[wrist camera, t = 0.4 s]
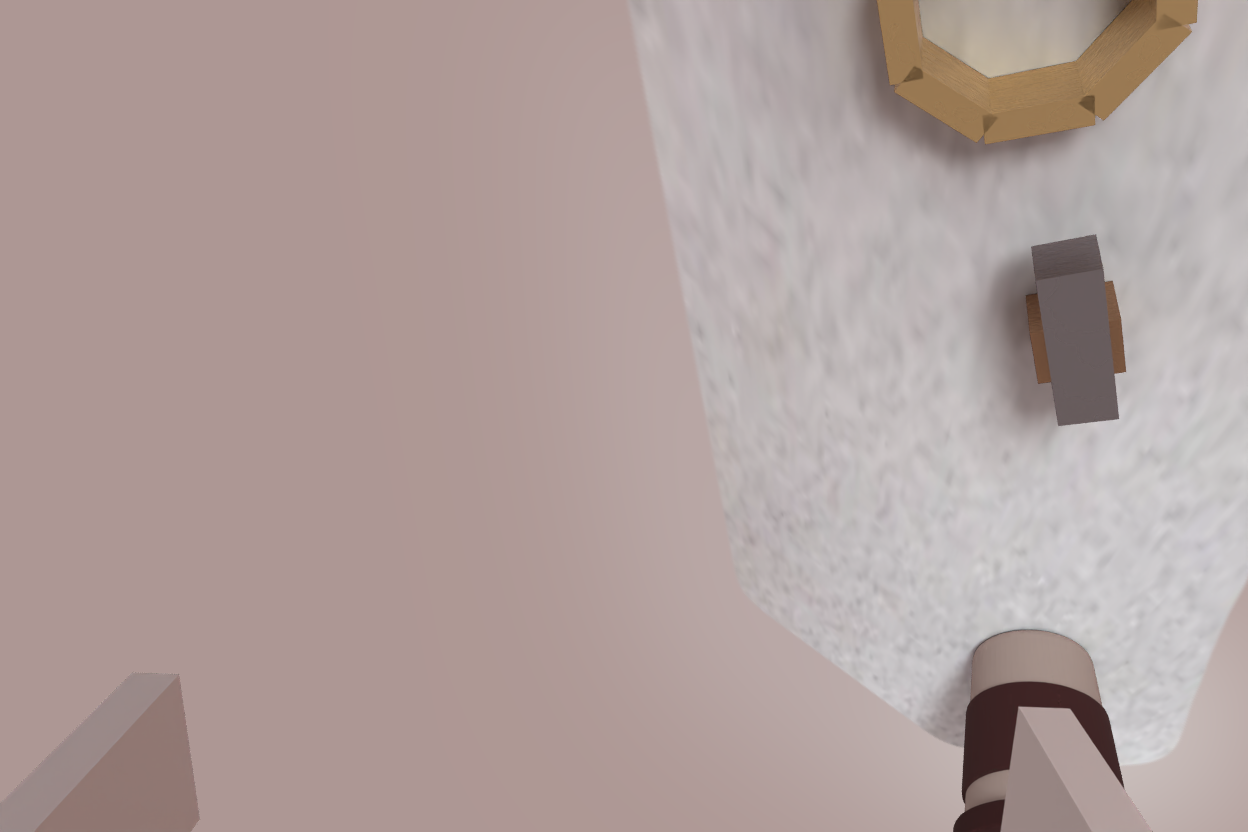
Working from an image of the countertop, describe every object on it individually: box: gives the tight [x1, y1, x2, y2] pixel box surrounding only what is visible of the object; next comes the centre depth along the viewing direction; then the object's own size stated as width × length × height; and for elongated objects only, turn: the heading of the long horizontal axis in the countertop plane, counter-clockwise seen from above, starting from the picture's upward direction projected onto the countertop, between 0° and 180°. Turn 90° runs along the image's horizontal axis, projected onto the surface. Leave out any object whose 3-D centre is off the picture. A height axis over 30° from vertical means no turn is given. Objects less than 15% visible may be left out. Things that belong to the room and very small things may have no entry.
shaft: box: [1026, 234, 1126, 426], centre depth 41 cm, size 8×4×5 cm, turn 23°
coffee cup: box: [953, 630, 1125, 832], centre depth 57 cm, size 10×10×15 cm
